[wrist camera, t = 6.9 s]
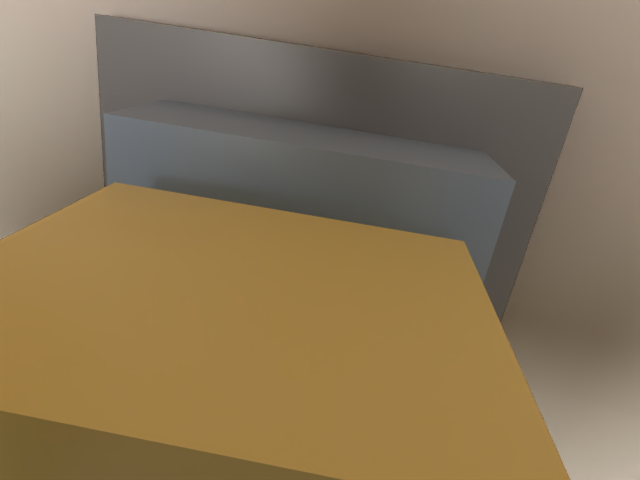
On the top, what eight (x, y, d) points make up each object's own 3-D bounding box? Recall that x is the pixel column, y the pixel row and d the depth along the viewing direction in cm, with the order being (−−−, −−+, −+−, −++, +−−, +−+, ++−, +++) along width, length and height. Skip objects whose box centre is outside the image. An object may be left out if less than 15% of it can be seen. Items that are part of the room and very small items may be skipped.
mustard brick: (127, 438, 9) (-71, 743, 5) (114, 182, 7) (-242, 360, 3) (392, 491, 9) (403, 862, 5) (464, 241, 7) (591, 530, 3)
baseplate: (125, 374, 14) (63, 453, 11) (110, 15, 10) (8, 3, 7) (450, 438, 13) (468, 538, 11) (571, 86, 9) (649, 100, 7)
